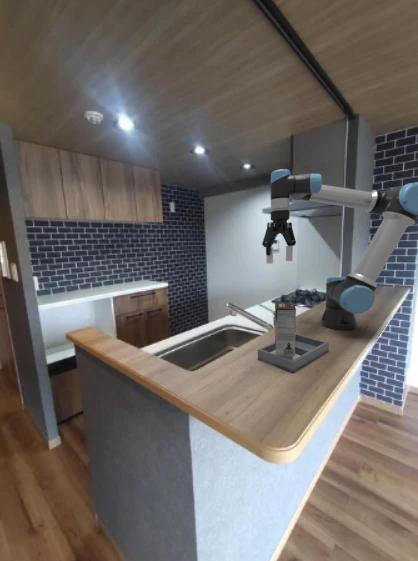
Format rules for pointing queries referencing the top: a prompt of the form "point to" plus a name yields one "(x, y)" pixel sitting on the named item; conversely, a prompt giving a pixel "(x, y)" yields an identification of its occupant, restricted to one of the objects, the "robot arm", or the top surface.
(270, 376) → the top surface
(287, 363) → the compartment tray
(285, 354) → the coffee box
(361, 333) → the top surface
